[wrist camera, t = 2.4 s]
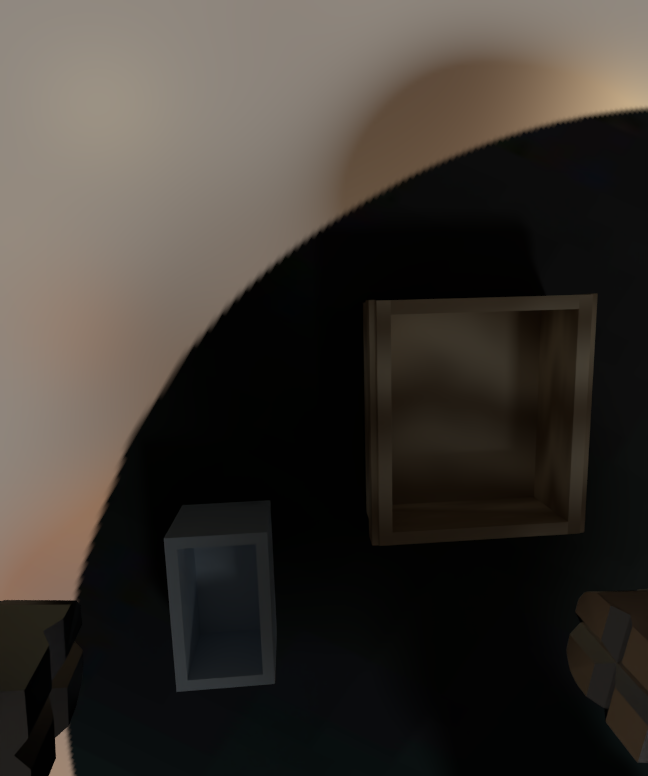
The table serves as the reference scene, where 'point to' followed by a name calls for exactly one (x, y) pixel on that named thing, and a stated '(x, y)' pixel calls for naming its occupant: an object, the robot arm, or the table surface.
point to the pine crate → (477, 417)
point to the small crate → (222, 595)
